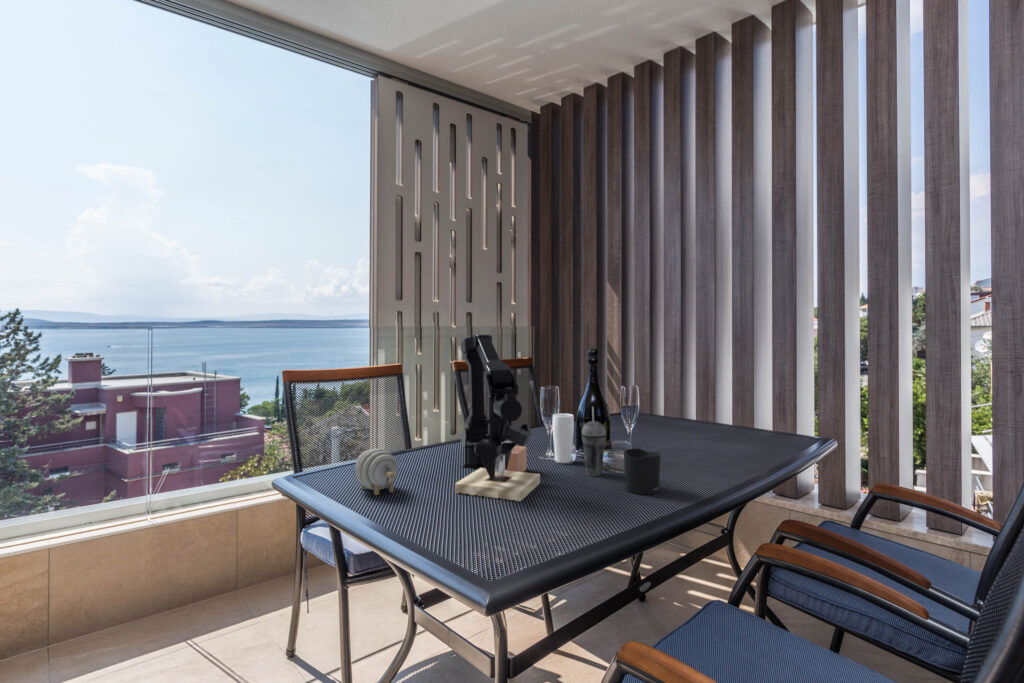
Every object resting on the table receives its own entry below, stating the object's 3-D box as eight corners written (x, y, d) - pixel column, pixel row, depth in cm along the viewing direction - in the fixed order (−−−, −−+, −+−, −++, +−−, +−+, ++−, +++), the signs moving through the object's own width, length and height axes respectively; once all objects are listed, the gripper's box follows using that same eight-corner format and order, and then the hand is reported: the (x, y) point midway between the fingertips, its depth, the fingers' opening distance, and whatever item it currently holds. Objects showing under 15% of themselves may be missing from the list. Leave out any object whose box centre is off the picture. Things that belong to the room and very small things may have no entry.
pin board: (455, 493, 136) (455, 483, 136) (480, 476, 151) (480, 467, 151) (520, 501, 130) (520, 491, 130) (540, 483, 145) (540, 474, 145)
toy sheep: (377, 480, 147) (377, 441, 147) (413, 493, 136) (413, 451, 135) (343, 488, 140) (342, 447, 139) (377, 503, 128) (377, 458, 128)
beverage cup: (609, 472, 155) (609, 405, 155) (602, 478, 149) (602, 408, 148) (585, 469, 158) (585, 403, 158) (577, 475, 152) (578, 406, 151)
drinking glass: (573, 459, 170) (573, 413, 170) (573, 464, 163) (574, 417, 163) (552, 458, 171) (552, 413, 170) (552, 464, 164) (552, 416, 164)
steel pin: (491, 489, 139) (491, 455, 139) (495, 485, 142) (495, 452, 142) (502, 490, 138) (502, 456, 138) (506, 486, 141) (506, 453, 141)
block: (496, 476, 152) (496, 452, 152) (506, 467, 160) (506, 445, 160) (517, 478, 150) (517, 453, 150) (526, 469, 158) (526, 446, 158)
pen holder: (631, 496, 133) (631, 457, 133) (618, 485, 143) (618, 449, 142) (666, 494, 135) (666, 456, 135) (651, 483, 144) (651, 447, 144)
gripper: (514, 423, 128) (514, 486, 129) (538, 411, 146) (538, 467, 146) (473, 420, 132) (473, 481, 133) (501, 409, 150) (501, 463, 150)
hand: (498, 473), depth 140 cm, fingers open, 9 cm apart
